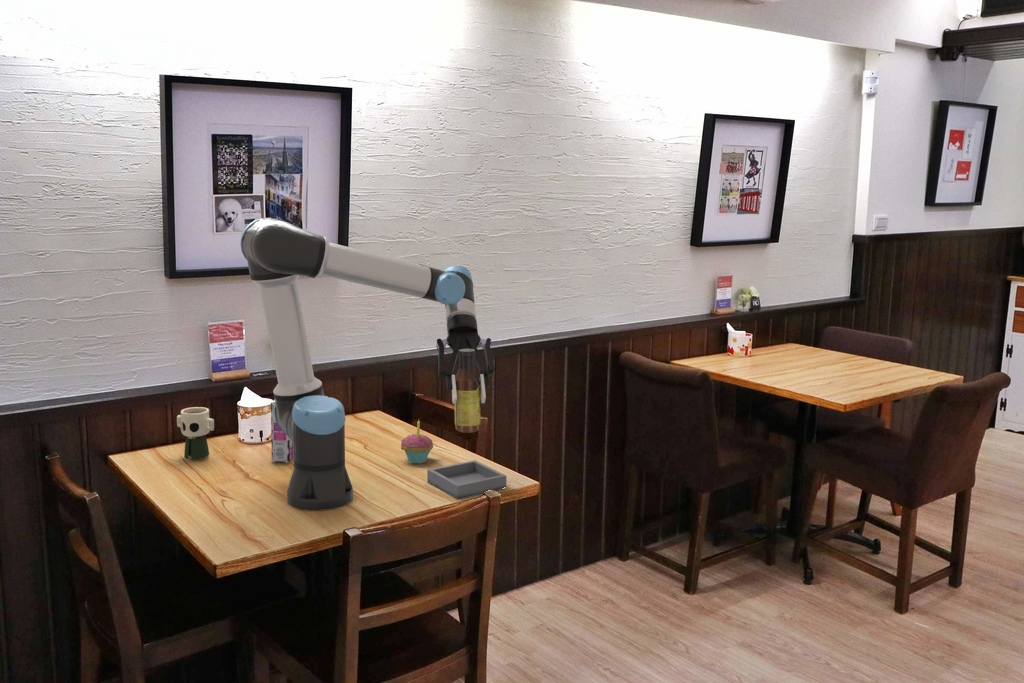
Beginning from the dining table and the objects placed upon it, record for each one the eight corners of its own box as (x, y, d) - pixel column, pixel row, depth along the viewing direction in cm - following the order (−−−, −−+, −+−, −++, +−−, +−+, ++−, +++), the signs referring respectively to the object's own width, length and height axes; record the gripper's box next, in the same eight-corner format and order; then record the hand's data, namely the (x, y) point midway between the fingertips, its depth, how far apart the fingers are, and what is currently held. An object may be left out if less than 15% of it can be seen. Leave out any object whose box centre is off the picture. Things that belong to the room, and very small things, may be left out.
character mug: (170, 460, 240) (168, 411, 238) (187, 452, 247) (184, 405, 244) (207, 464, 237) (205, 415, 235) (222, 456, 244) (220, 408, 242)
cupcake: (436, 464, 241) (437, 420, 239) (405, 467, 238) (405, 422, 236) (427, 454, 249) (427, 411, 247) (397, 457, 246) (396, 414, 244)
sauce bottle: (485, 431, 222) (486, 351, 219) (463, 435, 219) (464, 353, 215) (471, 425, 228) (472, 346, 224) (449, 428, 224) (450, 348, 220)
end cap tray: (457, 499, 216) (457, 486, 216) (427, 482, 228) (427, 469, 227) (506, 488, 224) (506, 475, 224) (475, 472, 236) (475, 460, 235)
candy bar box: (290, 463, 239) (289, 402, 236) (271, 463, 239) (269, 402, 236) (299, 450, 250) (297, 392, 247) (280, 450, 250) (279, 391, 247)
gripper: (497, 329, 236) (507, 407, 223) (422, 330, 232) (427, 409, 220) (501, 311, 229) (511, 391, 217) (424, 312, 226) (429, 393, 213)
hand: (469, 400), depth 218 cm, fingers closed on sauce bottle, 6 cm apart
